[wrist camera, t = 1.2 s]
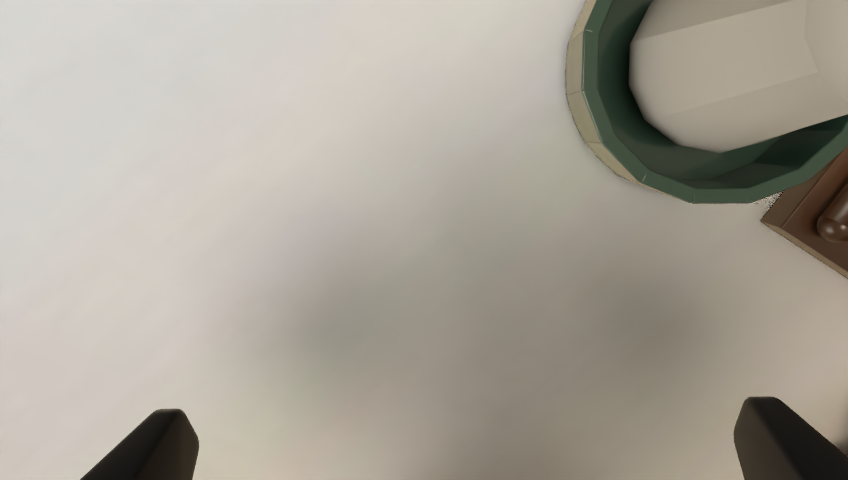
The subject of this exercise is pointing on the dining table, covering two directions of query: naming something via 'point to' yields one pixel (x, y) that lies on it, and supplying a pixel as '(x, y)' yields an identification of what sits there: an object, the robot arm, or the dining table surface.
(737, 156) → the holder
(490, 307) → the dining table surface
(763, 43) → the salt shaker
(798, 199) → the rack
